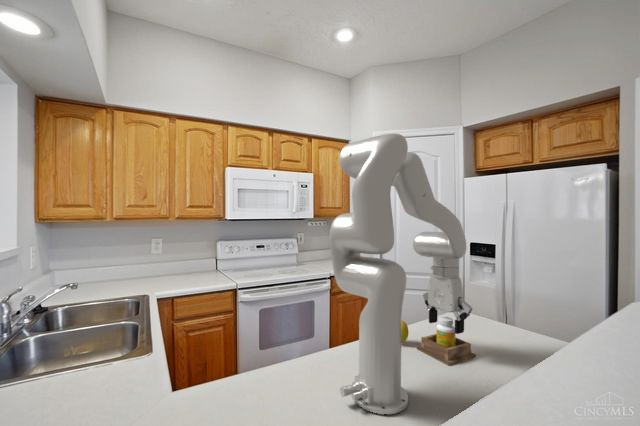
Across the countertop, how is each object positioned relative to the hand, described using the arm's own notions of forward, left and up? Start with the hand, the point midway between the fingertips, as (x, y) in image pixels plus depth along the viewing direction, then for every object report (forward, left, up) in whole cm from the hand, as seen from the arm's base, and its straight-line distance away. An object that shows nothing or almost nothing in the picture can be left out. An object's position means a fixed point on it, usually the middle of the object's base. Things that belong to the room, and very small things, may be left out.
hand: (445, 327), depth 91 cm
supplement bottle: (0, 0, -7) cm, 7 cm away
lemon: (-8, +12, -8) cm, 16 cm away
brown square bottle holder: (0, 0, -8) cm, 8 cm away
